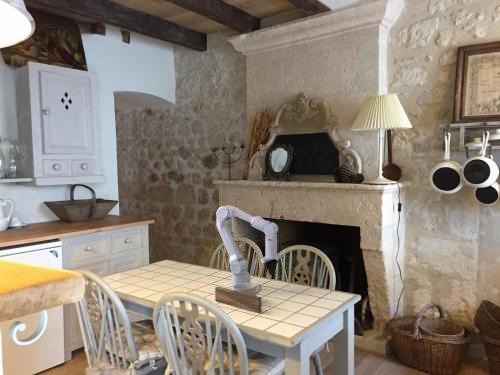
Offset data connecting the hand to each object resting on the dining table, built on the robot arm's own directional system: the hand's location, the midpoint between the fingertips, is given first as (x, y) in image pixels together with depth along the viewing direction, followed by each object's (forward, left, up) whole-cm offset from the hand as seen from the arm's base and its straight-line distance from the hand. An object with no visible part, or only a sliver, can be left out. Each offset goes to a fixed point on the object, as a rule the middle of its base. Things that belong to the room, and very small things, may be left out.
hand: (271, 274), depth 196 cm
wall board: (+24, -1, -9) cm, 26 cm away
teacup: (+17, -1, -10) cm, 19 cm away
